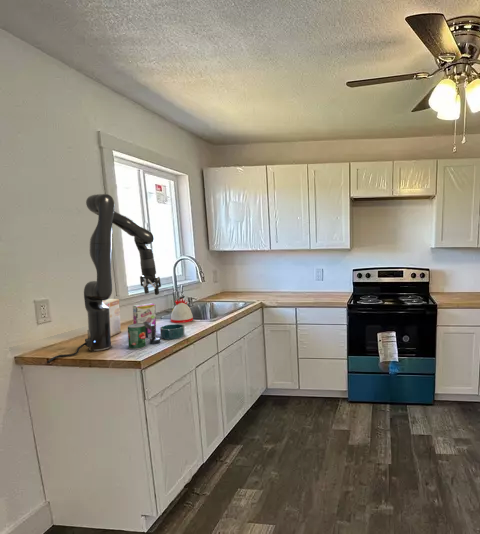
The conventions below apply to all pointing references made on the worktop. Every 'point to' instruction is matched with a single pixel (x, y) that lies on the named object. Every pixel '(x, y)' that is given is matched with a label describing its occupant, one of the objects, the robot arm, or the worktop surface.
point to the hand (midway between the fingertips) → (151, 293)
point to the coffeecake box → (113, 315)
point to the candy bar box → (144, 314)
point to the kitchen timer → (181, 312)
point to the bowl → (172, 331)
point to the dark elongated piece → (152, 328)
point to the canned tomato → (136, 336)
